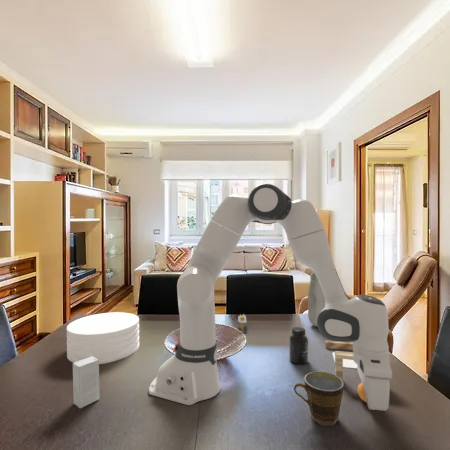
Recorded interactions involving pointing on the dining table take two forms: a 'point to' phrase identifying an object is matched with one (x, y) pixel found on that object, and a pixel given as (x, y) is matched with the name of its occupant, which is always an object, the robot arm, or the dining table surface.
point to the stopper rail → (339, 345)
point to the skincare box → (86, 381)
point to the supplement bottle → (298, 346)
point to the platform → (242, 319)
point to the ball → (362, 392)
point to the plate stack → (103, 337)
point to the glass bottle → (315, 299)
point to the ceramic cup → (323, 396)
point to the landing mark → (347, 362)
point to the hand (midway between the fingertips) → (370, 406)
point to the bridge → (341, 362)
